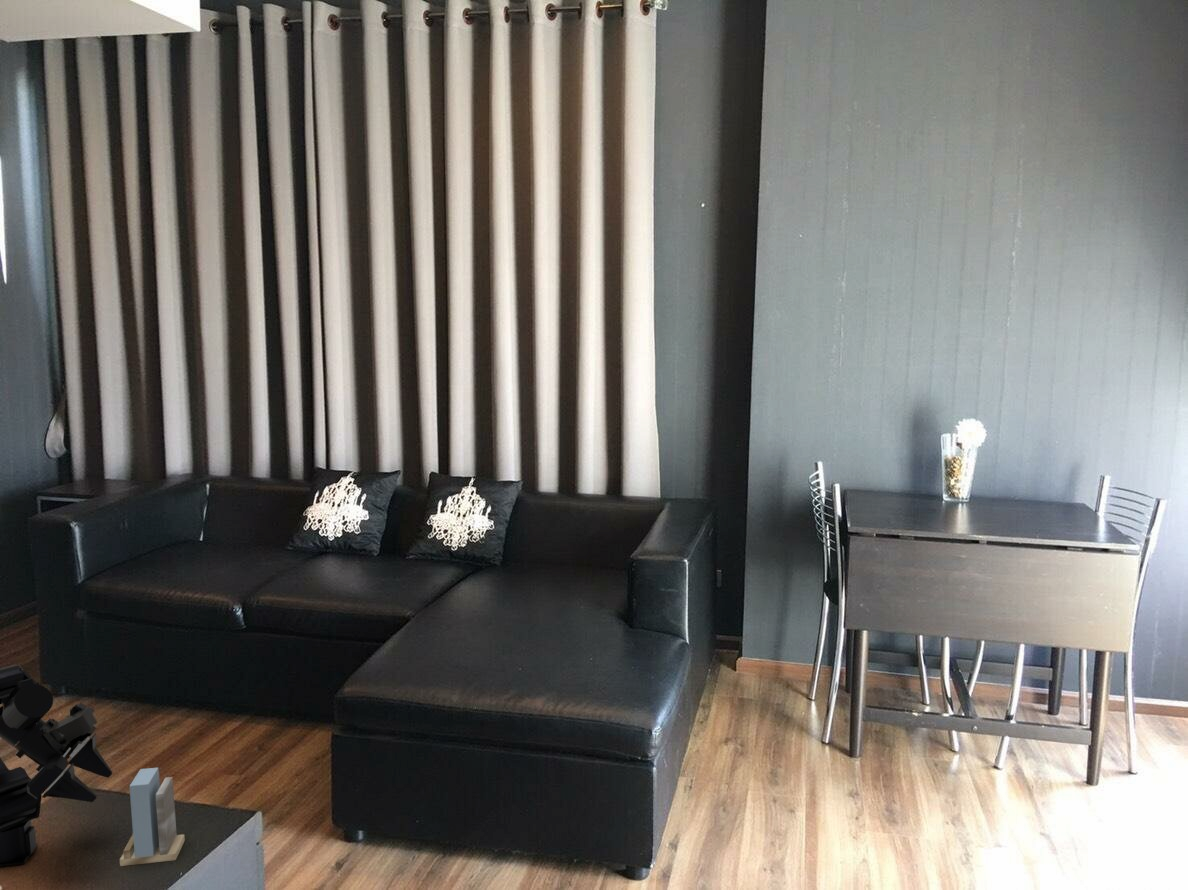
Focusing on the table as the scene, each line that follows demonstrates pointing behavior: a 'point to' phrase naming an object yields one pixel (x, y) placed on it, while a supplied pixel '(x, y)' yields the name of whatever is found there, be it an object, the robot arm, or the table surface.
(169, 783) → the book stand
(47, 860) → the table surface
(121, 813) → the table surface
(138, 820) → the book
